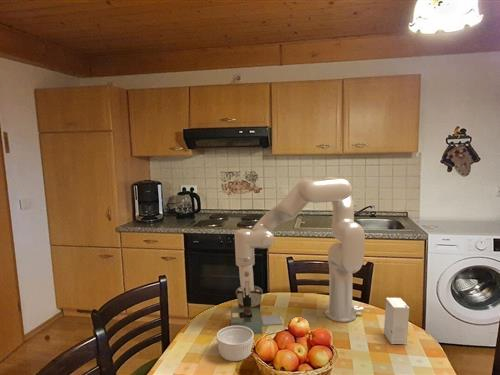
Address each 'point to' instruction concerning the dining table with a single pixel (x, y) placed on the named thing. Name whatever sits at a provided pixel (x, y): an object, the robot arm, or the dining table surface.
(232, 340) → the ramekin
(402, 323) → the skincare box
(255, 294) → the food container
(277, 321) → the rest mat
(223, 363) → the dining table surface
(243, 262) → the robot arm
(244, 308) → the brown upright bar
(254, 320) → the switch box
